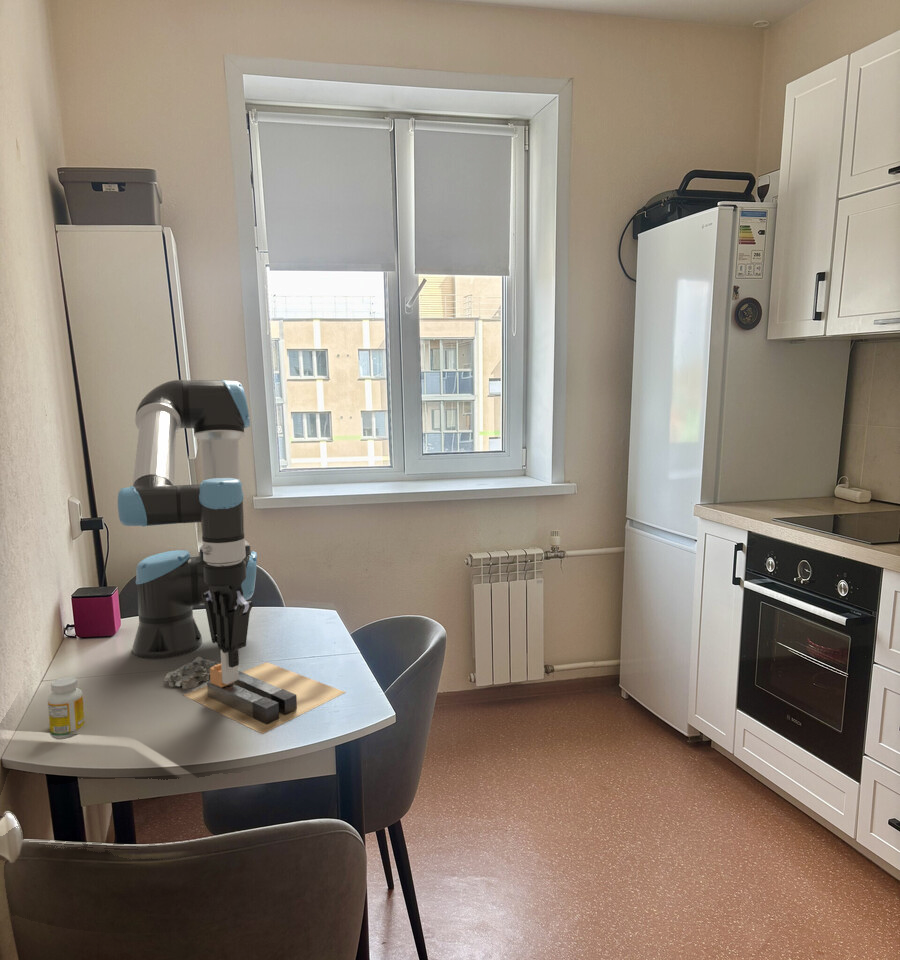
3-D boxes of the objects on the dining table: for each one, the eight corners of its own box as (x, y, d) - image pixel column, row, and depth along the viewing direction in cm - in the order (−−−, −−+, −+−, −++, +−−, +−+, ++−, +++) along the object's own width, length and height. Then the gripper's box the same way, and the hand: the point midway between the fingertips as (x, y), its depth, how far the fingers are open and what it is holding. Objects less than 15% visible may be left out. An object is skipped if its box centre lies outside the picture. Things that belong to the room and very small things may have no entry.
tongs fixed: (198, 692, 128) (196, 671, 128) (219, 683, 132) (218, 663, 132) (266, 724, 115) (265, 701, 115) (288, 714, 119) (287, 691, 119)
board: (183, 700, 127) (183, 695, 127) (266, 667, 143) (266, 662, 143) (262, 740, 112) (262, 733, 112) (346, 697, 128) (345, 692, 128)
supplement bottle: (56, 743, 112) (52, 690, 111) (45, 733, 115) (41, 682, 114) (90, 731, 116) (86, 680, 115) (78, 721, 119) (74, 672, 118)
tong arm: (226, 688, 130) (226, 674, 129) (238, 683, 132) (237, 669, 132) (285, 715, 119) (284, 700, 118) (296, 709, 121) (296, 694, 120)
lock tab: (210, 682, 125) (209, 663, 125) (223, 677, 127) (222, 659, 127) (221, 687, 123) (220, 668, 122) (234, 682, 125) (233, 663, 125)
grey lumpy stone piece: (189, 698, 129) (188, 678, 129) (161, 691, 132) (160, 672, 132) (227, 676, 139) (226, 658, 138) (200, 671, 142) (199, 653, 141)
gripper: (186, 560, 121) (193, 679, 124) (227, 570, 114) (234, 697, 117) (221, 552, 127) (227, 666, 130) (263, 562, 120) (268, 682, 123)
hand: (230, 680), depth 124 cm, fingers closed
